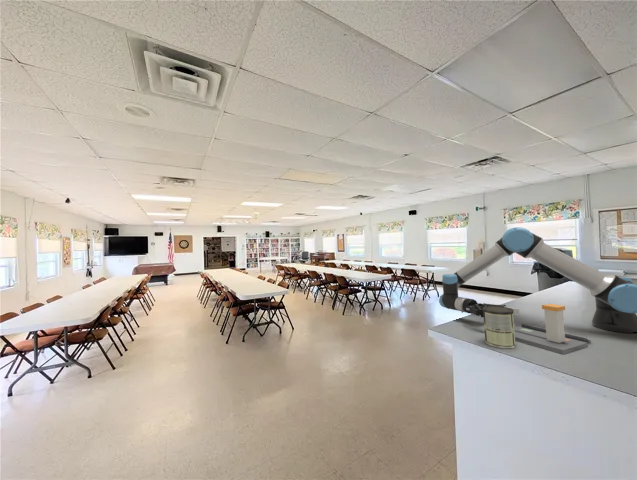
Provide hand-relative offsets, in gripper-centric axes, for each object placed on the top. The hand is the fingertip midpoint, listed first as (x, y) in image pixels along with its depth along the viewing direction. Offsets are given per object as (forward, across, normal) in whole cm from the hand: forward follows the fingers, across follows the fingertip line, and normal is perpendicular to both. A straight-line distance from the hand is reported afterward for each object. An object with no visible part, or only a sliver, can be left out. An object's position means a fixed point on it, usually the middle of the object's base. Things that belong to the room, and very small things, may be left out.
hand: (509, 314), depth 116 cm
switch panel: (+10, 0, -8) cm, 13 cm away
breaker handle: (+17, 0, -7) cm, 18 cm away
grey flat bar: (+10, -12, -8) cm, 18 cm away
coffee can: (+6, +17, -9) cm, 20 cm away
